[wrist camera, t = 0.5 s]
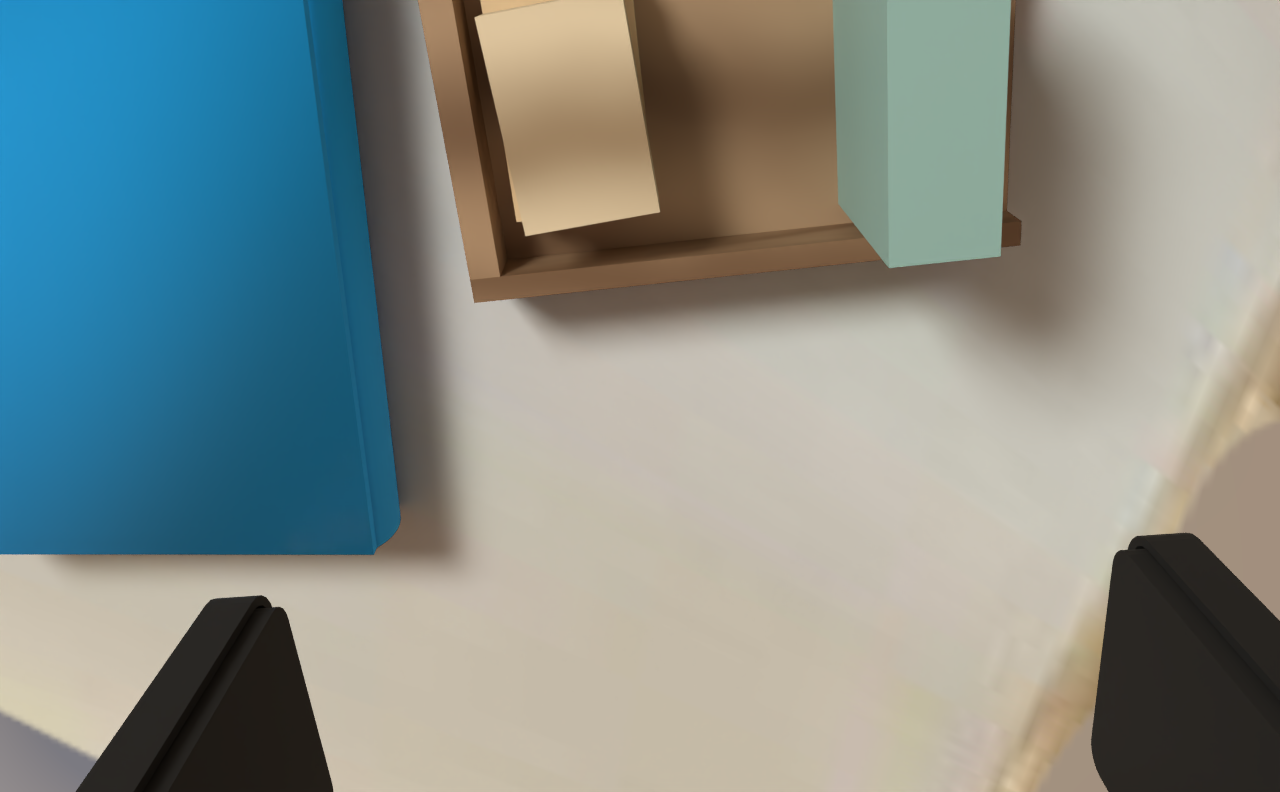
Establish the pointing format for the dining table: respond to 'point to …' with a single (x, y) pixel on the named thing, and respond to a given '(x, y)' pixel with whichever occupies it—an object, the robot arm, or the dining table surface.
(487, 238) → the tray
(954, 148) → the block
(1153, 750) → the robot arm
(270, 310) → the book
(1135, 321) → the dining table surface
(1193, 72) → the dining table surface
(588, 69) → the offcut top
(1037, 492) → the dining table surface
